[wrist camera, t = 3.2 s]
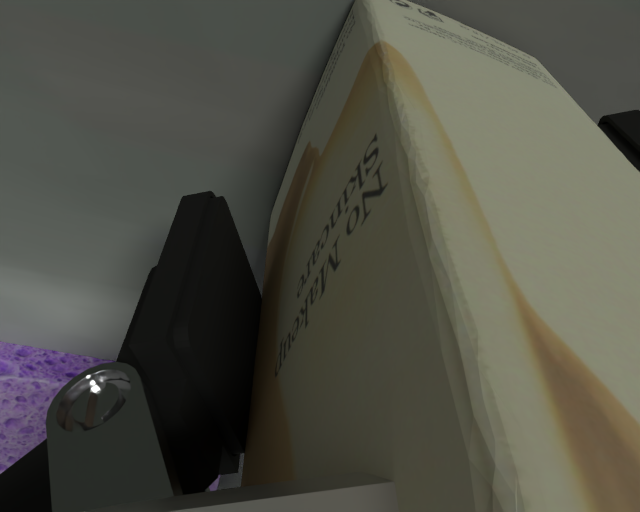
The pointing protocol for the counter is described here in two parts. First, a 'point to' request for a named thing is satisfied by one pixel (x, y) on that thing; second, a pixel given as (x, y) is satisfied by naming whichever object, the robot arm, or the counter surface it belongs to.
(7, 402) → the sponges
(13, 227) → the counter surface
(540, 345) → the skincare box
